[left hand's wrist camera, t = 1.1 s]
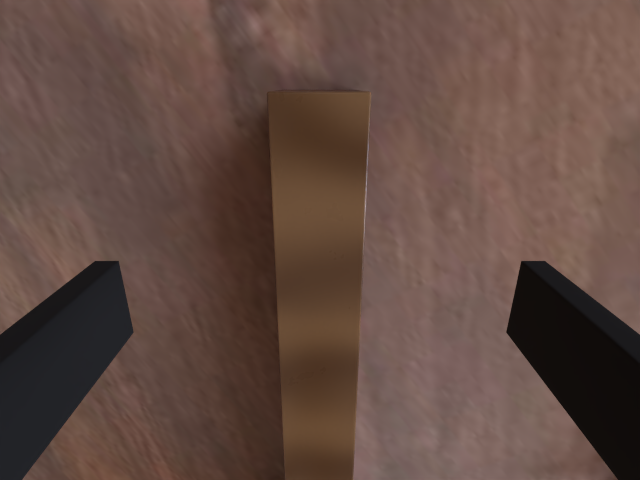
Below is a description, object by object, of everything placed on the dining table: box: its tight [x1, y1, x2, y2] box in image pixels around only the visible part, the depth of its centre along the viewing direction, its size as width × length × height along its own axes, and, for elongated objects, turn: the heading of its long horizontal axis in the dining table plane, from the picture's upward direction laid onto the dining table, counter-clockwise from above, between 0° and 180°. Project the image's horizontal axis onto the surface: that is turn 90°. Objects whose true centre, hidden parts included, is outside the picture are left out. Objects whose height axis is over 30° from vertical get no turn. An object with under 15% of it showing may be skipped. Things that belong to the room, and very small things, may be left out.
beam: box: [267, 90, 371, 480], centre depth 32 cm, size 51×5×8 cm, turn 0°
